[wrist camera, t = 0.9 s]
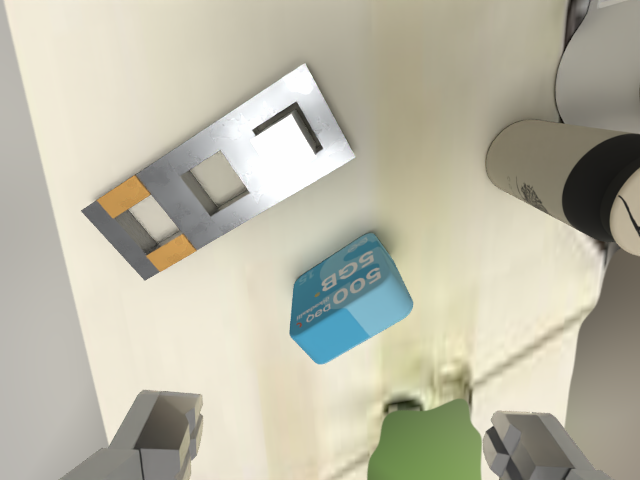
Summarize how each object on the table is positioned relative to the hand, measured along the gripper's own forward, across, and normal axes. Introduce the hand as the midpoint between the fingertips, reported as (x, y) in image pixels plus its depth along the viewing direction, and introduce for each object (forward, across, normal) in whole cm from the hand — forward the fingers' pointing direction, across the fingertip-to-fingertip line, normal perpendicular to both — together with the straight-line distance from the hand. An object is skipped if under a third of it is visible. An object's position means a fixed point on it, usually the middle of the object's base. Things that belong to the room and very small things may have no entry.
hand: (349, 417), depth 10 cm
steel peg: (+32, +3, -4) cm, 32 cm away
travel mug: (+32, -22, -4) cm, 39 cm away
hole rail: (+32, +11, +2) cm, 34 cm away
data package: (+32, -4, +12) cm, 35 cm away
